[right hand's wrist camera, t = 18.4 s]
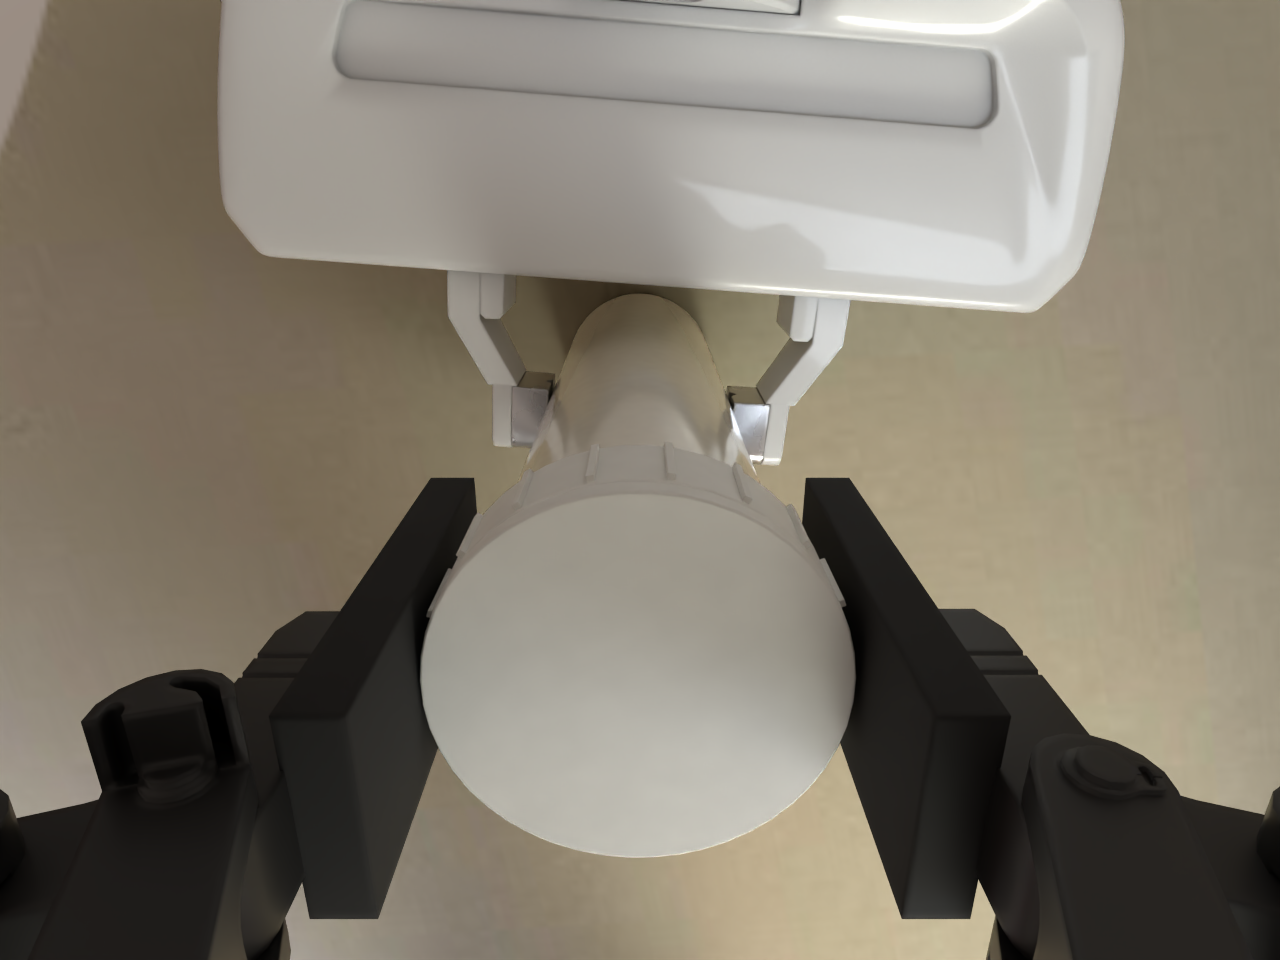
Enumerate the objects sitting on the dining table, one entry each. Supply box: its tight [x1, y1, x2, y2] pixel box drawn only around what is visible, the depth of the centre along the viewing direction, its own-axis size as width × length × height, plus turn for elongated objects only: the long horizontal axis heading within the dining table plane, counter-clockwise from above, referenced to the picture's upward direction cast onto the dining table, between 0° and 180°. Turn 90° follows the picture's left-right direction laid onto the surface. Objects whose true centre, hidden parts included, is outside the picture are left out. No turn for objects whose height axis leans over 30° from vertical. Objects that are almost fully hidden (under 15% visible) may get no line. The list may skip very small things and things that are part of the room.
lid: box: [420, 442, 856, 858], centre depth 11 cm, size 6×6×2 cm
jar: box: [517, 294, 761, 484], centre depth 20 cm, size 5×5×18 cm
